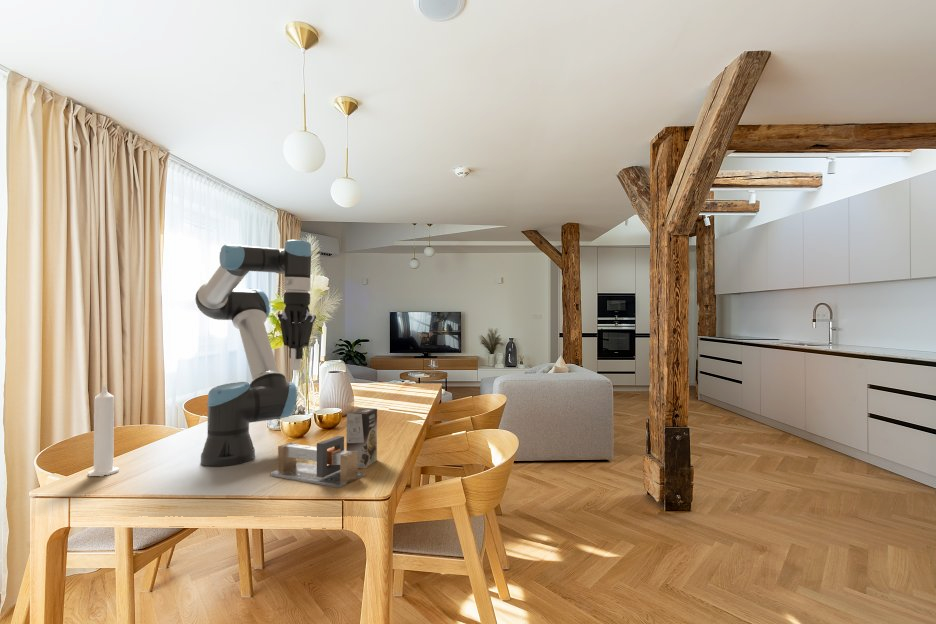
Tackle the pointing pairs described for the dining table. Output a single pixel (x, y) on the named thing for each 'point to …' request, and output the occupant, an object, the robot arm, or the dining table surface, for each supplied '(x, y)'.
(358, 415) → the coffee box
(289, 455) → the rail
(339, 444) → the grey square ring
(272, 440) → the dining table surface
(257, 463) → the dining table surface
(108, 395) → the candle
